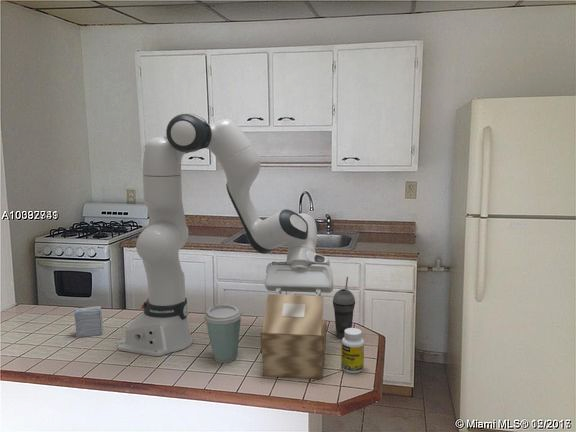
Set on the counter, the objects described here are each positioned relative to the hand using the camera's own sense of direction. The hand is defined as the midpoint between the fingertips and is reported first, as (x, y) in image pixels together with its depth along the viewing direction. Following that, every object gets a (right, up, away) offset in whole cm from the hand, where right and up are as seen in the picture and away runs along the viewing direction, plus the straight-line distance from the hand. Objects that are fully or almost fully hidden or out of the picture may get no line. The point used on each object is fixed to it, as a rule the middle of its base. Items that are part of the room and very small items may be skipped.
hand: (297, 304), depth 139 cm
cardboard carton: (-1, -17, -4) cm, 17 cm away
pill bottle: (+15, -17, -5) cm, 24 cm away
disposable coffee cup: (-21, -16, +2) cm, 27 cm away
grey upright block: (-68, -14, +21) cm, 72 cm away
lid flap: (-1, -2, -8) cm, 8 cm away
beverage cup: (+15, -14, +17) cm, 27 cm away
